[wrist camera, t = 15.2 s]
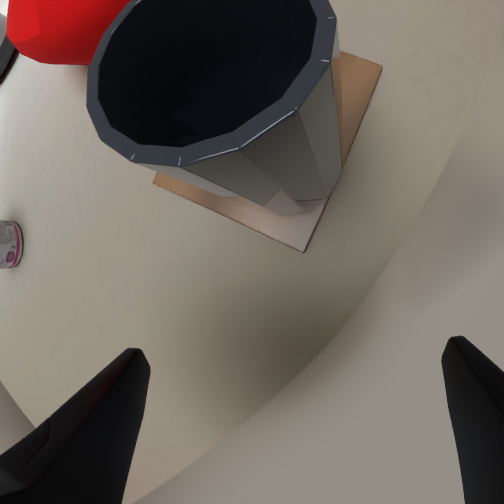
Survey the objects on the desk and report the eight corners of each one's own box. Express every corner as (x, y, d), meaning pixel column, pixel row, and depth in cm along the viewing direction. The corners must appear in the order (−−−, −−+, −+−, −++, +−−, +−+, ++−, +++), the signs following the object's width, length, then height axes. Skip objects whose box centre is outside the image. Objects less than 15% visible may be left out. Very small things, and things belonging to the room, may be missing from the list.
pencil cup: (353, 203, 17) (376, 120, 5) (240, 226, 19) (87, 200, 7) (326, 98, 18) (292, -66, 6) (222, 124, 19) (93, 12, 7)
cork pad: (382, 69, 17) (382, 65, 17) (304, 253, 19) (303, 253, 18) (234, 29, 20) (232, 25, 19) (155, 184, 21) (152, 183, 21)
